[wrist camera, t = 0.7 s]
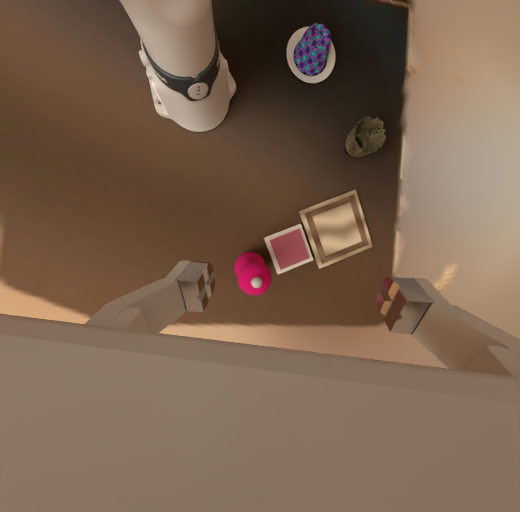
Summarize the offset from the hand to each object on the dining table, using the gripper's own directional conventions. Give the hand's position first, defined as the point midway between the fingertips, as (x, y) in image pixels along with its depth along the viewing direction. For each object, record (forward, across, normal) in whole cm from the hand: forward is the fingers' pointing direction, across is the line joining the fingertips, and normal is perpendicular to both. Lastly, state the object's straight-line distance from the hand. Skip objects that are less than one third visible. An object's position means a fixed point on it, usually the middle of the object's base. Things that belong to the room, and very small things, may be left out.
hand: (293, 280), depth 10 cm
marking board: (+43, -13, +16) cm, 48 cm away
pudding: (+59, -3, -21) cm, 63 cm away
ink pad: (+38, -1, +20) cm, 43 cm away
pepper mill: (+34, +9, +23) cm, 42 cm away
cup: (+53, -15, -2) cm, 55 cm away
